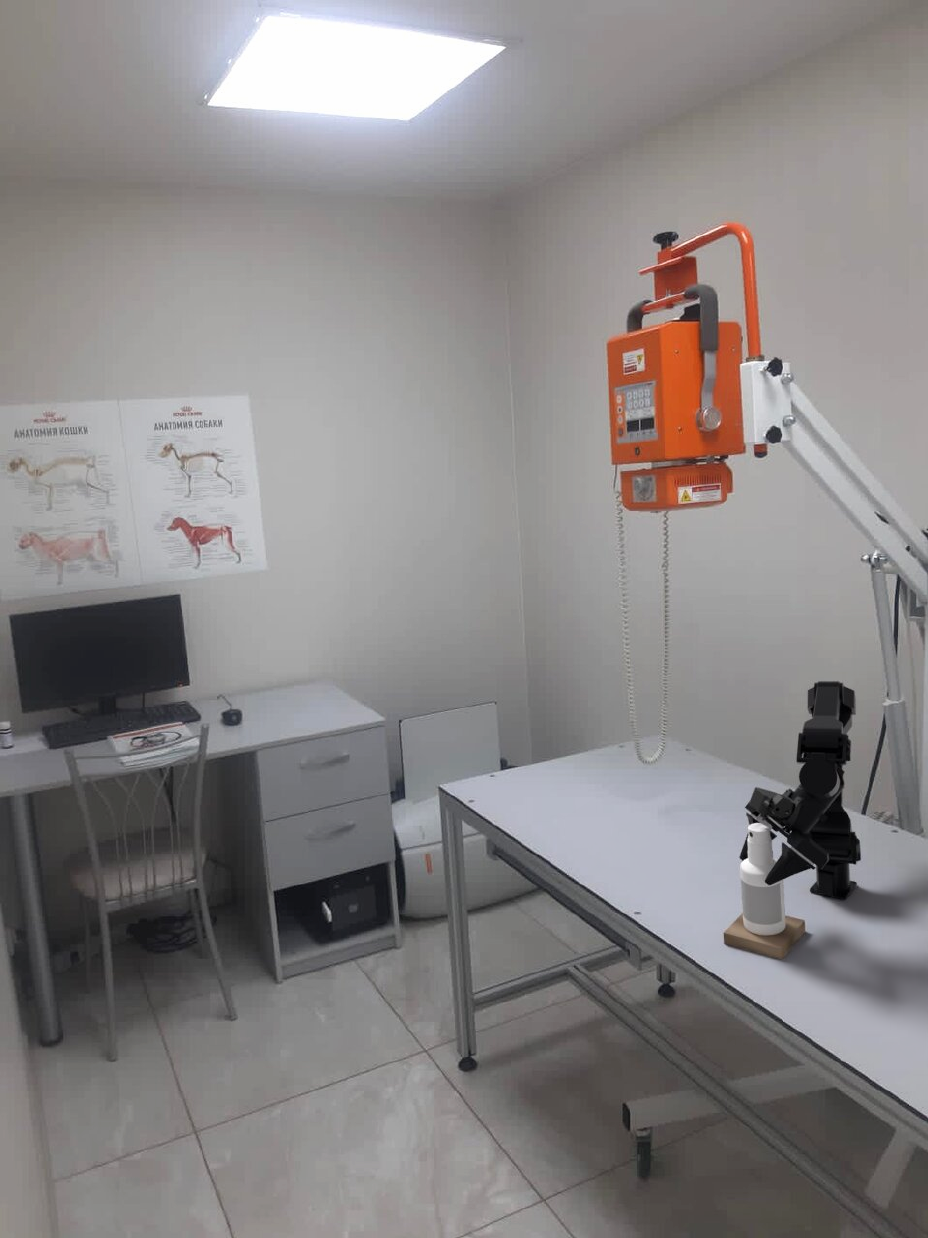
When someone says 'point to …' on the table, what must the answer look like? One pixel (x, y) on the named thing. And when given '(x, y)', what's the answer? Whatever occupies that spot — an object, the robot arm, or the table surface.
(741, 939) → the brown flat square block
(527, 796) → the table surface
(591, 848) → the table surface
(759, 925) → the spray bottle
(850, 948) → the table surface
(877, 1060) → the table surface
